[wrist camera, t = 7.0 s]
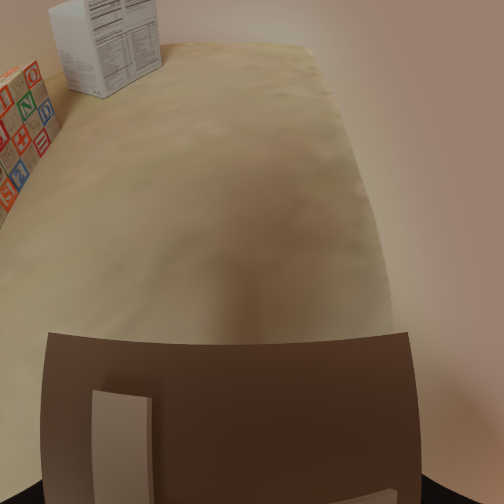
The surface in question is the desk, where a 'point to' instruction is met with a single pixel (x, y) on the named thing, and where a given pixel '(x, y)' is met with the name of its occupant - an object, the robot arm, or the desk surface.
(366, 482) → the letter block
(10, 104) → the stack of blocks
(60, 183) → the desk surface
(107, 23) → the supplement box
